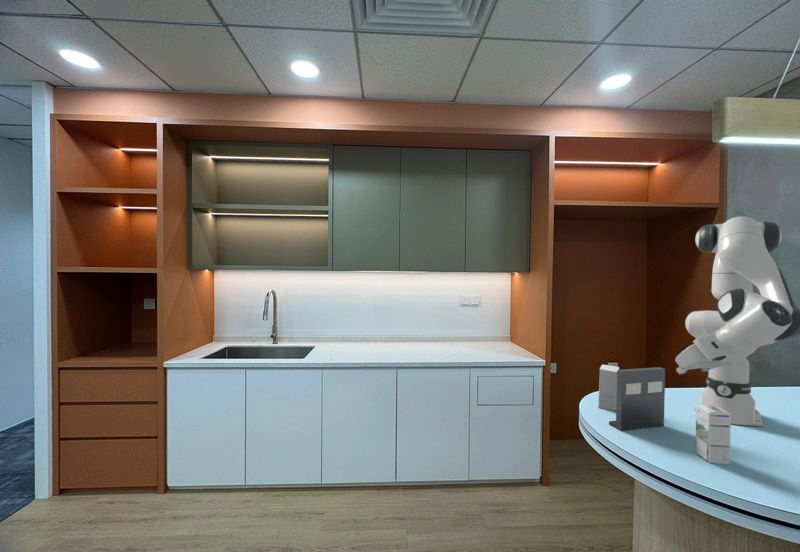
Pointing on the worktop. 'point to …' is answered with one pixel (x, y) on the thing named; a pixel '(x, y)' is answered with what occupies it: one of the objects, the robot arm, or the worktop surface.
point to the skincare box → (608, 387)
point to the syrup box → (713, 434)
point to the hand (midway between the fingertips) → (691, 370)
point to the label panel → (640, 398)
